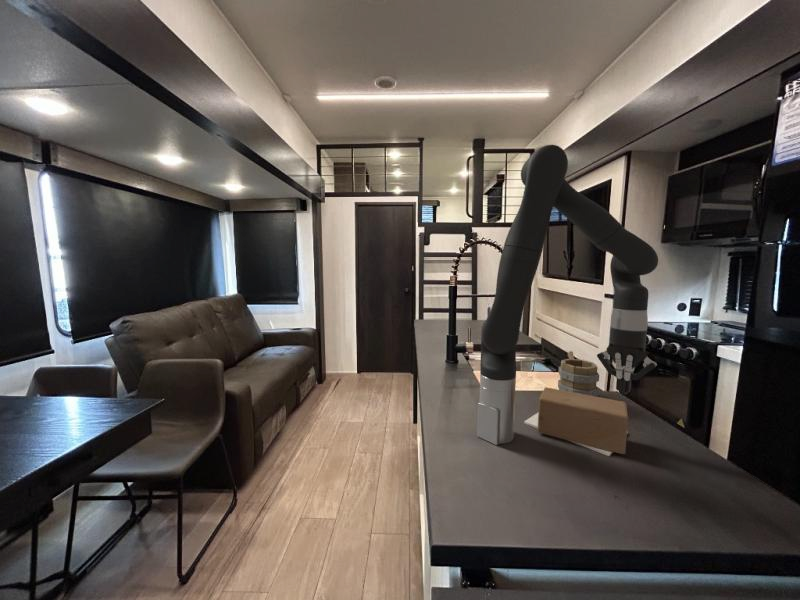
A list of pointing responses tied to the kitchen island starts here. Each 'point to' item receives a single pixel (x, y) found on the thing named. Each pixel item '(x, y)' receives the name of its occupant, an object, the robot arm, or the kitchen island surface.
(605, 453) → the mat
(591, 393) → the tankard
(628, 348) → the robot arm
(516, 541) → the kitchen island surface
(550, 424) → the wooden block
